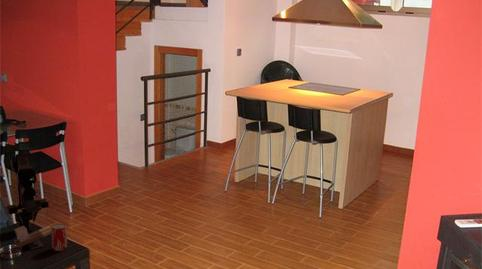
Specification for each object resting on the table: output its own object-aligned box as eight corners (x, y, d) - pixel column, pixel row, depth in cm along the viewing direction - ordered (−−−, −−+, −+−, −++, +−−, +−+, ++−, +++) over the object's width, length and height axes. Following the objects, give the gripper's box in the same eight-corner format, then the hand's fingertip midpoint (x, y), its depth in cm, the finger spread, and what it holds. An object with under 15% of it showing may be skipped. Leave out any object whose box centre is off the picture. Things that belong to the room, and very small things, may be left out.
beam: (14, 243, 256) (13, 240, 255) (49, 228, 266) (49, 225, 265) (18, 247, 251) (17, 245, 251) (54, 232, 261) (53, 229, 261)
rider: (17, 239, 256) (14, 229, 254) (26, 235, 258) (23, 225, 256) (20, 243, 252) (17, 232, 250) (29, 239, 255) (26, 228, 253)
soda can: (62, 252, 252) (61, 229, 250) (49, 251, 254) (48, 228, 251) (70, 246, 259) (69, 224, 257) (57, 245, 260) (56, 222, 258)
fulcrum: (26, 243, 261) (25, 237, 260) (38, 241, 264) (38, 234, 264) (31, 249, 255) (31, 242, 254) (43, 246, 258) (43, 240, 258)
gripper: (11, 201, 240) (13, 232, 243) (51, 194, 251) (53, 224, 255) (4, 194, 248) (6, 224, 252) (44, 188, 260) (45, 217, 263)
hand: (28, 222), depth 255 cm, fingers open, 4 cm apart
